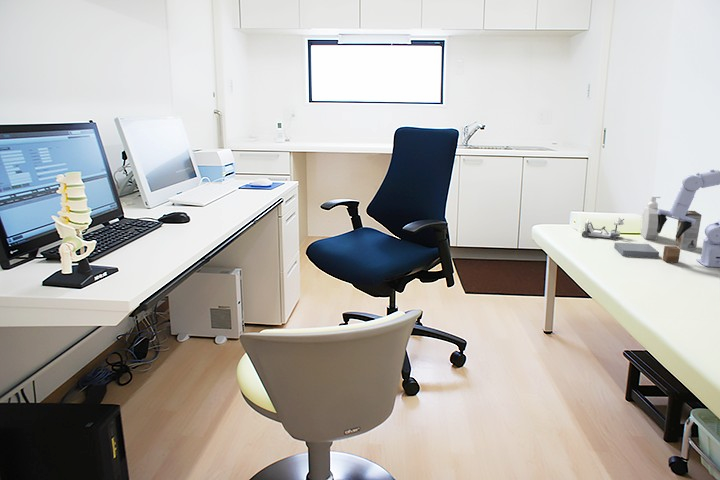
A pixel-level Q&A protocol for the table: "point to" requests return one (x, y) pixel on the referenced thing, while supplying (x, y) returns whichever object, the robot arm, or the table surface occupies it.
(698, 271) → the table surface
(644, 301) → the table surface
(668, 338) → the table surface
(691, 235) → the coffee box
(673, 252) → the walnut block
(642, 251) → the grey box
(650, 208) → the soap bottle
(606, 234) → the toy rover
